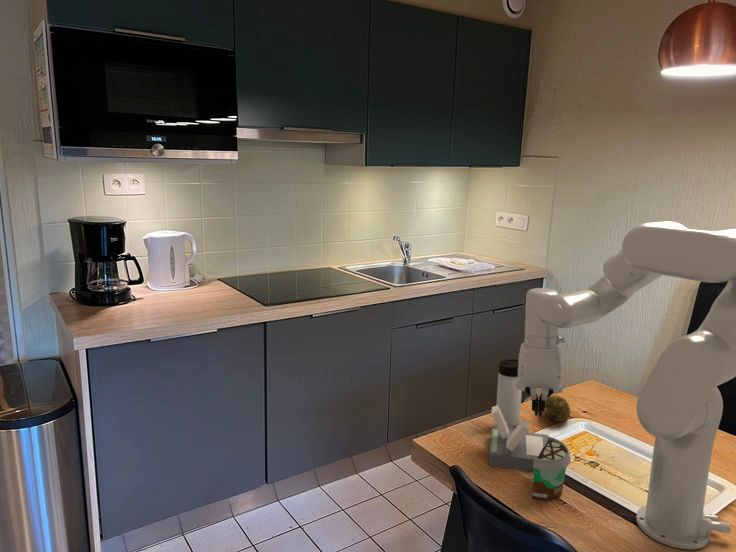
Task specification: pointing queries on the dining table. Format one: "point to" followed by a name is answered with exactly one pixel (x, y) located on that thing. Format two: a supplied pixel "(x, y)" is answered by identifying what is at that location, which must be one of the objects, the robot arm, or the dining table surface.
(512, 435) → the paddle
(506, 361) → the travel mug
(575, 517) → the dining table surface
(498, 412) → the paddle on
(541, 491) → the food container
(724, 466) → the dining table surface
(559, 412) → the potato
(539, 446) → the panel
